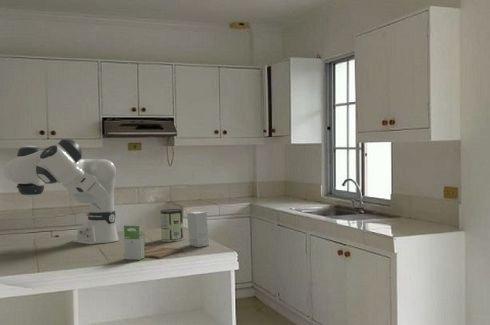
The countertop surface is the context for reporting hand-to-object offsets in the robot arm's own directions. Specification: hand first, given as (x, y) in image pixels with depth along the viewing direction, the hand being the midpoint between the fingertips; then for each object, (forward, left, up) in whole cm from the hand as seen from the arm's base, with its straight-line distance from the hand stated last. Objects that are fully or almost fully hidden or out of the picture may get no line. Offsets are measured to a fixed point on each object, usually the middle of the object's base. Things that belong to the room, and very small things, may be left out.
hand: (102, 208), depth 200 cm
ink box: (+5, +12, -21) cm, 25 cm away
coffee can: (-7, +53, -21) cm, 57 cm away
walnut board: (+5, +24, -21) cm, 32 cm away
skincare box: (+13, +45, -21) cm, 51 cm away
